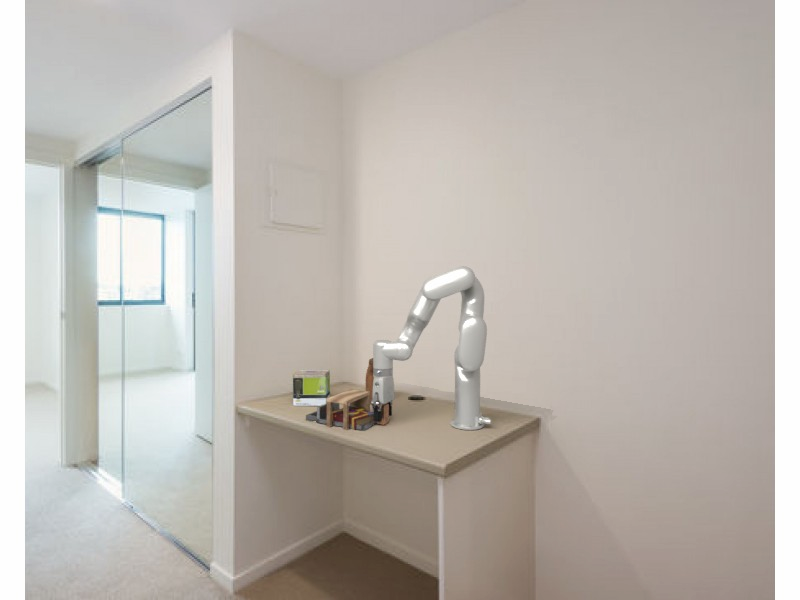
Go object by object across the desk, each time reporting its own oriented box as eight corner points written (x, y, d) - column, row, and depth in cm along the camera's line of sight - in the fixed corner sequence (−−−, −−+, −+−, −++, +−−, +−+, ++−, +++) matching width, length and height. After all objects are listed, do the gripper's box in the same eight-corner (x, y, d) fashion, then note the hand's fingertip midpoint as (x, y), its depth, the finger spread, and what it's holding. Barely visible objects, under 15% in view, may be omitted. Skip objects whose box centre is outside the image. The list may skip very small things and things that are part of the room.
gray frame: (334, 415, 174) (334, 410, 174) (318, 422, 164) (318, 417, 164) (322, 413, 176) (322, 408, 176) (305, 420, 167) (305, 415, 167)
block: (378, 398, 203) (378, 356, 202) (390, 400, 198) (390, 358, 198) (363, 402, 194) (363, 359, 194) (375, 405, 189) (375, 360, 189)
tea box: (330, 401, 197) (330, 369, 197) (326, 406, 187) (326, 373, 187) (298, 400, 198) (298, 369, 198) (292, 406, 188) (292, 373, 187)
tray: (389, 421, 164) (389, 403, 164) (372, 431, 152) (372, 412, 152) (337, 413, 175) (337, 396, 175) (316, 422, 163) (316, 404, 163)
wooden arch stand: (369, 417, 170) (369, 391, 170) (346, 429, 155) (347, 401, 155) (350, 415, 174) (350, 389, 174) (326, 426, 159) (326, 398, 159)
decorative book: (355, 431, 154) (355, 417, 154) (326, 422, 165) (326, 409, 165) (376, 424, 163) (376, 411, 163) (347, 416, 173) (347, 404, 173)
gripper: (380, 377, 153) (380, 425, 153) (401, 369, 168) (401, 413, 169) (362, 375, 156) (362, 423, 156) (384, 368, 172) (384, 411, 172)
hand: (382, 418), depth 162 cm, fingers open, 7 cm apart
